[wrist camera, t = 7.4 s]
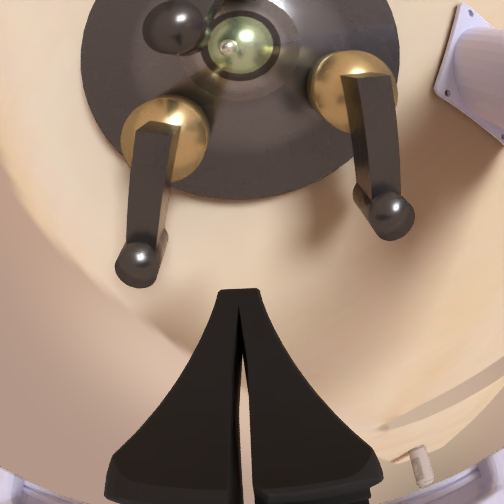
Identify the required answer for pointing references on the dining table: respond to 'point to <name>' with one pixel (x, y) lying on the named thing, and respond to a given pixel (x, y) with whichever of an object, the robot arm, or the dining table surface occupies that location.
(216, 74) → the levelling plate
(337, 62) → the knob
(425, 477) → the energy drink can
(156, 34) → the knob
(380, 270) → the dining table surface
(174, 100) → the knob
